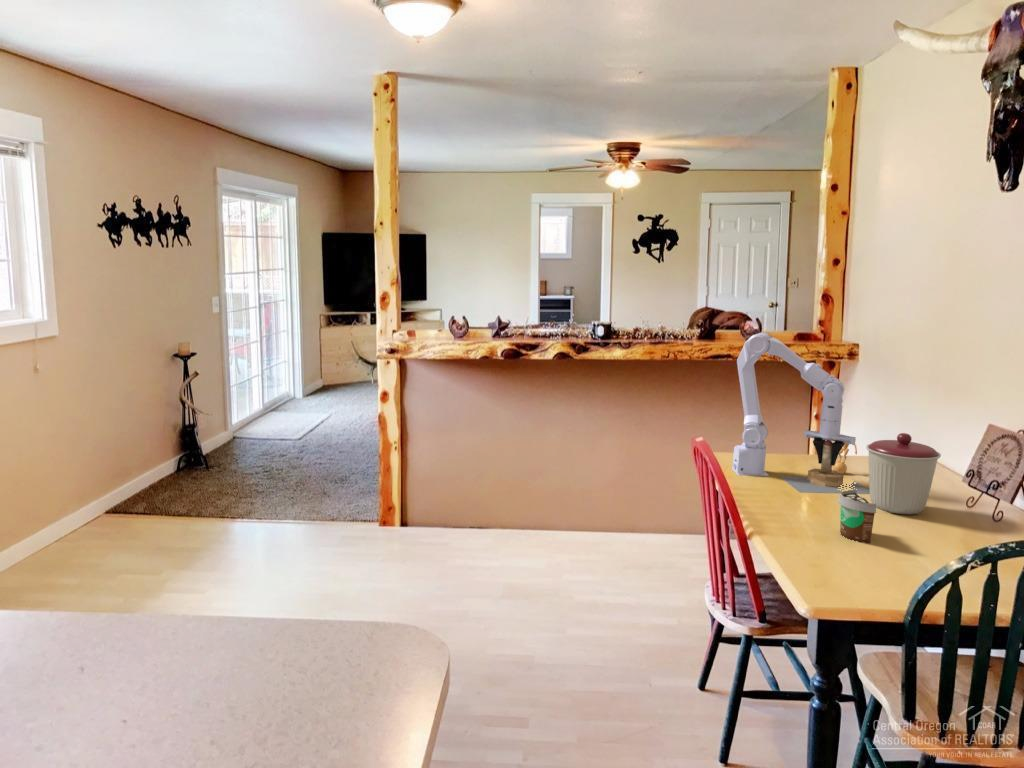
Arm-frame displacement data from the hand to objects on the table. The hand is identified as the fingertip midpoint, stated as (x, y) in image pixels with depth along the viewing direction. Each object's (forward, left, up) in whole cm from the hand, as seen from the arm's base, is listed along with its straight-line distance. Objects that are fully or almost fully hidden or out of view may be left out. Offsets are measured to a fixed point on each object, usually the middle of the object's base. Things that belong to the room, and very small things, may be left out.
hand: (826, 464), depth 238 cm
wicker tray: (0, 0, -6) cm, 6 cm away
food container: (-13, -47, -6) cm, 49 cm away
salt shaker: (0, 0, -2) cm, 2 cm away
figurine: (+10, +12, -6) cm, 17 cm away
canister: (+10, -24, -6) cm, 27 cm away
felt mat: (-1, -3, -6) cm, 7 cm away
